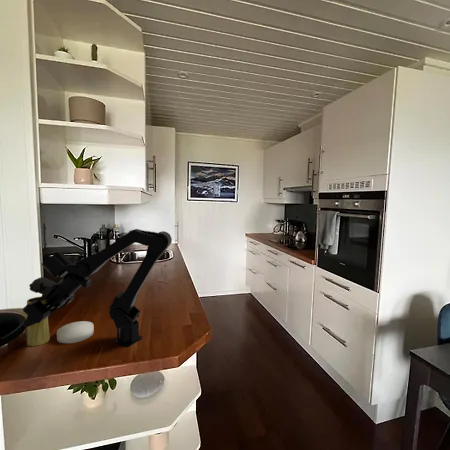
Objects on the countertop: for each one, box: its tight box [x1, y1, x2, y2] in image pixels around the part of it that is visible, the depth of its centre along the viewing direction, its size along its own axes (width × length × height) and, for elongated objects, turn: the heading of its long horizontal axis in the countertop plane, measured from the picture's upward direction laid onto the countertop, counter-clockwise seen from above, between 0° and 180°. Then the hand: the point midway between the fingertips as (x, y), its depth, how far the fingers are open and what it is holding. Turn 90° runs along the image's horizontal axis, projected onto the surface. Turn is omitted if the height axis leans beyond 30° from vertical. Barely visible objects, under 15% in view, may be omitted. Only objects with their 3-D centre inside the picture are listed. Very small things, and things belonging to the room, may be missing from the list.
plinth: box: [56, 320, 95, 344], centre depth 91 cm, size 11×11×2 cm
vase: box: [26, 296, 51, 347], centre depth 86 cm, size 6×6×14 cm
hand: (33, 320), depth 86 cm, fingers open, 8 cm apart
